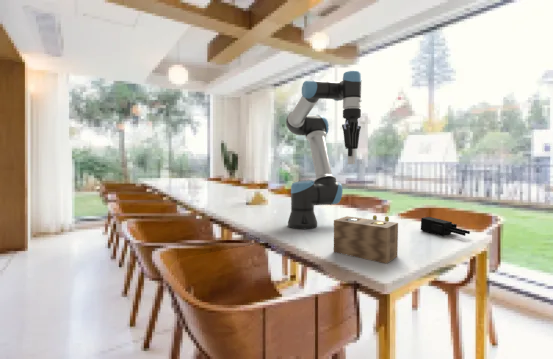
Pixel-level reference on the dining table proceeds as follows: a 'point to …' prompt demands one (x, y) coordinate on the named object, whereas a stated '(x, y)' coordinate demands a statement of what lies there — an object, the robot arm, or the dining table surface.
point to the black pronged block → (440, 227)
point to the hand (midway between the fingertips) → (351, 163)
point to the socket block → (366, 239)
